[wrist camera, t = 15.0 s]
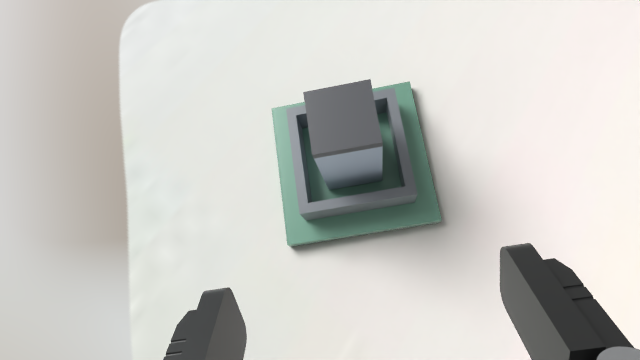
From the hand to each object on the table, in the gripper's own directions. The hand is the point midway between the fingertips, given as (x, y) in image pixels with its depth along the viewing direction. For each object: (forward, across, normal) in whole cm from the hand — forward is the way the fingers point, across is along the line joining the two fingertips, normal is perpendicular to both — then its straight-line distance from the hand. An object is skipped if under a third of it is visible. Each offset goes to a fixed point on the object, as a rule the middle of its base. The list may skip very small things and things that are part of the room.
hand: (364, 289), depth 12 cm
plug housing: (+16, 0, +4) cm, 16 cm away
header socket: (+17, 0, +4) cm, 17 cm away
